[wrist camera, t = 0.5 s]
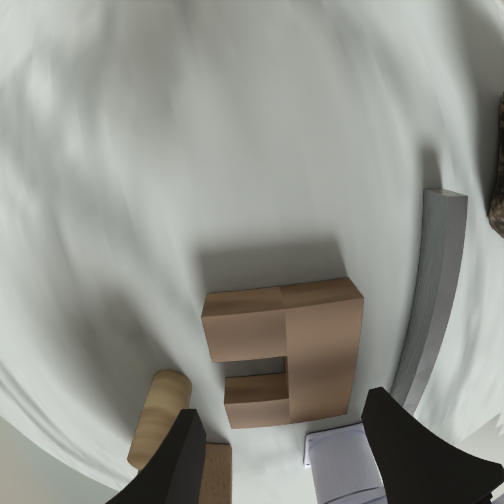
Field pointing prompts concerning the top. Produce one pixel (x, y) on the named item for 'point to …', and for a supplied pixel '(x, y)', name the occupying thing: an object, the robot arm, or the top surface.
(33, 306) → the top surface
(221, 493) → the wooden block
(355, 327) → the block
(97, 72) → the top surface
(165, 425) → the dowel
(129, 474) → the top surface
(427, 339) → the rail
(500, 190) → the rock
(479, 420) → the top surface
